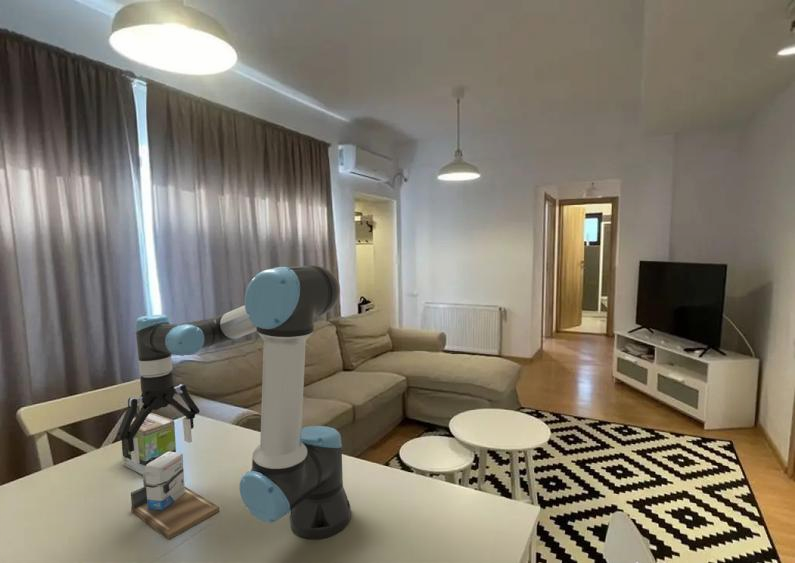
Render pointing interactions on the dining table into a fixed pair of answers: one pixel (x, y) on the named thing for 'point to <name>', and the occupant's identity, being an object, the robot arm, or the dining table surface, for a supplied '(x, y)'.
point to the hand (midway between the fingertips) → (163, 451)
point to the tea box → (151, 441)
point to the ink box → (164, 480)
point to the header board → (173, 511)
